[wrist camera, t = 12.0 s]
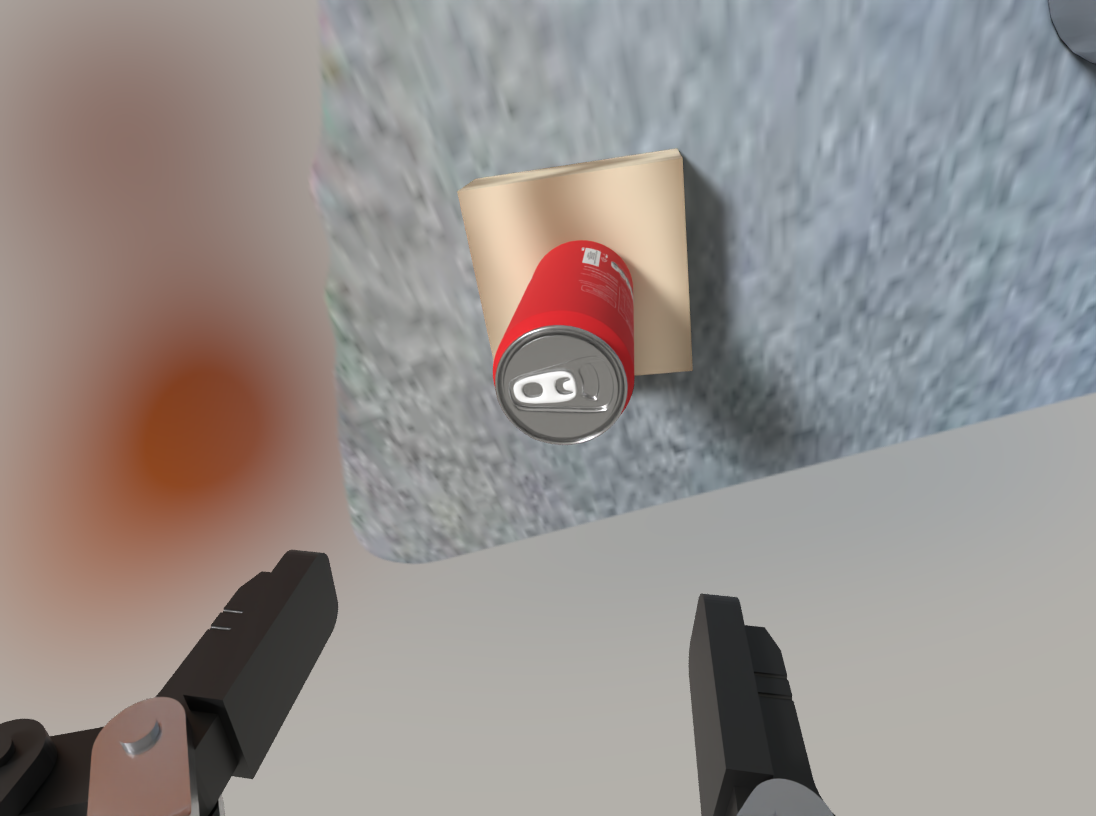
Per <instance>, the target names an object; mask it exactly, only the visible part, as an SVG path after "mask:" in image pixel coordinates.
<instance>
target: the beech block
mask: <svg viewBox="0 0 1096 816" xmlns="http://www.w3.org/2000/svg"><path fill="white" fill-rule="evenodd" d="M457 192H458V197H459V202H460V206H461V211H462V216H463V220H464V225H465V230H466V234H467V239H468V244H469V248H470V253H471V257H472V262H473V267H474V271H475V276H476V281H477V285H478V290H479V295H480V299H481V304H482V309H483V313H484V318H485V322H486V327H487V332H488V336H489V341H490V346H491V350H492V355H493V360H494V358H495V354H496V351H497V349H498V346H499V344H500V342H501V340H502V338H503V336H504V334H505V332H506V330H507V328H508V326H509V324H510V321H511V319H512V317H513V315H514V313H515V311H516V309H517V307H518V305H519V303H520V301H521V299H522V296H523V294H524V292H525V290H526V288H527V286H528V284H529V282H530V280H531V278H532V276H533V274H534V272H535V269H536V268H537V266H538V264H539V262H540V261H541V260H542V258H543V257H544V256H545V255H546V254H547V253H548V252H550V251H551V250H552V249H554V248H555V247H557V246H559V245H561V244H564V243H567V242H570V241H576V240H587V241H593V242H597V243H600V244H603V245H605V246H607V247H609V248H610V249H612V250H613V251H614V252H616V253H617V254H618V255H619V256H620V257H621V258H622V260H623V261H624V262H625V264H626V265H627V267H628V269H629V271H630V274H631V277H632V281H633V298H634V376H637V375H648V374H660V373H672V372H683V371H693V367H692V346H691V325H690V304H689V284H688V263H687V242H686V221H685V200H684V179H683V158H682V156H681V155H680V153H679V151H678V149H670V150H664V151H657V152H650V153H644V154H637V155H631V156H624V157H617V158H611V159H604V160H598V161H591V162H584V163H578V164H571V165H565V166H558V167H551V168H545V169H538V170H532V171H525V172H518V173H512V174H505V175H499V176H492V177H485V178H479V179H475V180H473V181H472V182H470V183H469V184H467V185H466V186H465V187H463V188H462V189H460V190H459V191H457Z"/></svg>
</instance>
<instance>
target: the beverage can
mask: <svg viewBox="0 0 1096 816" xmlns="http://www.w3.org/2000/svg"><path fill="white" fill-rule="evenodd" d="M493 379H494V385H495V390H496V395H497V399H498V402H499V404H500V406H501V408H502V410H503V412H504V413H505V415H506V416H507V418H508V419H509V420H510V421H511V422H512V423H513V424H514V425H515V426H516V427H517V428H518V429H519V430H521V431H522V432H523V433H525V434H526V435H528V436H530V437H531V438H533V439H535V440H538V441H542V442H546V443H550V444H557V445H572V444H578V443H583V442H586V441H589V440H592V439H594V438H596V437H598V436H599V435H601V434H603V433H604V432H605V431H607V430H608V429H609V428H610V427H611V426H612V425H613V424H614V423H615V422H616V420H617V419H618V418H619V416H620V415H621V414H622V412H623V411H624V409H625V408H626V406H627V404H628V403H629V400H630V398H631V395H632V392H633V387H634V298H633V281H632V277H631V274H630V271H629V269H628V267H627V265H626V264H625V262H624V261H623V260H622V258H621V257H620V256H619V255H618V254H617V253H616V252H614V251H613V250H612V249H610V248H609V247H607V246H605V245H603V244H600V243H597V242H593V241H587V240H576V241H570V242H567V243H564V244H561V245H559V246H557V247H555V248H554V249H552V250H551V251H550V252H548V253H547V254H546V255H545V256H544V257H543V258H542V260H541V261H540V262H539V264H538V266H537V268H536V269H535V272H534V274H533V276H532V278H531V280H530V282H529V284H528V286H527V288H526V290H525V292H524V294H523V296H522V299H521V301H520V303H519V305H518V307H517V309H516V311H515V313H514V315H513V317H512V319H511V321H510V324H509V326H508V328H507V330H506V332H505V334H504V336H503V338H502V340H501V342H500V344H499V346H498V349H497V351H496V354H495V358H494V364H493Z"/></svg>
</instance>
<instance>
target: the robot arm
mask: <svg viewBox="0 0 1096 816" xmlns="http://www.w3.org/2000/svg"><path fill="white" fill-rule="evenodd" d="M1048 2H1049V8H1050V14H1051V19H1052V21H1053V23H1054V25H1055V28H1056V30H1057V32H1058V34H1059V36H1060V38H1061V39H1062V40H1063V41H1064V42H1065V43H1066V45H1067V46H1068V47H1069V48H1070V49H1071V50H1072V51H1073V52H1074V53H1076V54H1077V55H1079V56H1081V57H1082V58H1084V59H1086V60H1087V61H1089V62H1091V63H1095V64H1096V0H1048ZM337 614H338V601H337V596H336V591H335V586H334V582H333V577H332V572H331V567H330V563H329V559H328V556H327V555H326V554H325V553H317V552H308V551H298V550H289V551H287V552H286V553H285V554H284V556H283V557H282V558H281V560H280V561H279V562H278V564H277V565H276V567H275V568H274V569H273V571H272V572H271V573H270V572H260V573H259V574H258V575H256V576H255V577H254V578H252V579H251V580H250V581H248V582H247V583H245V584H244V585H243V586H241V587H240V588H239V589H238V591H237V592H236V593H235V594H234V596H233V597H232V598H231V600H230V601H229V602H228V603H227V605H226V606H225V607H224V611H223V613H220V614H219V615H218V617H217V618H216V619H215V621H214V622H213V623H212V624H211V628H210V630H209V629H208V630H207V631H206V632H205V634H204V635H203V636H202V638H201V639H200V640H199V641H198V643H197V644H196V645H195V647H194V648H193V650H192V651H191V652H190V653H189V655H188V656H187V657H186V659H185V660H184V661H183V662H182V664H181V665H180V666H179V668H178V669H177V670H176V672H175V673H174V674H173V676H172V677H171V678H170V679H169V681H168V682H167V683H166V685H165V686H164V687H163V689H162V690H161V691H160V692H159V693H158V695H157V696H156V697H154V698H149V699H146V700H143V701H140V702H137V703H135V704H133V705H131V706H129V707H127V708H126V709H124V710H123V711H121V712H120V713H118V714H117V715H116V716H115V717H114V718H112V719H111V720H110V721H109V722H108V723H107V724H106V725H105V726H104V727H100V728H95V729H90V730H84V731H78V732H73V733H67V734H61V735H56V736H49V735H48V733H47V731H46V730H45V728H44V727H43V725H42V724H40V723H39V722H38V721H35V720H31V719H17V720H12V721H8V722H4V723H2V724H0V816H225V811H224V802H223V797H222V795H221V794H222V792H223V790H224V788H225V787H226V785H227V783H228V781H229V780H230V778H231V776H235V777H242V778H249V779H253V778H254V776H255V774H256V773H257V771H258V769H259V767H260V765H261V763H262V761H263V760H264V758H265V756H266V754H267V752H268V750H269V748H270V747H271V745H272V743H273V741H274V739H275V737H276V735H277V734H278V731H279V730H280V728H281V726H282V724H283V722H284V721H285V719H286V717H287V715H288V713H289V711H290V709H291V708H292V706H293V704H294V702H295V700H296V698H297V696H298V695H299V693H300V691H301V689H302V687H303V685H304V683H305V681H306V680H307V678H308V676H309V674H310V672H311V670H312V669H313V667H314V665H315V663H316V661H317V659H318V657H319V655H320V654H321V652H322V650H323V648H324V646H325V644H326V643H327V641H328V639H329V637H330V635H331V633H332V631H333V629H334V626H335V623H336V619H337ZM689 679H690V691H691V702H692V713H693V725H694V735H695V747H696V757H697V769H698V780H699V791H700V803H701V814H702V816H835V815H834V814H833V813H832V812H831V810H830V809H829V808H828V806H827V805H826V804H825V802H824V801H823V799H822V798H821V796H820V795H819V792H818V790H817V788H816V786H815V783H814V780H813V777H812V773H811V769H810V765H809V761H808V757H807V753H806V749H805V745H804V741H803V737H802V733H801V729H800V725H799V721H798V717H797V713H796V709H795V705H794V702H793V701H792V693H791V690H790V685H789V681H788V680H787V673H786V669H785V665H784V661H783V657H782V653H781V650H780V649H779V647H778V646H777V644H776V643H775V642H774V640H773V639H772V637H771V636H770V634H769V633H768V632H767V630H766V629H765V628H764V627H756V626H747V625H744V620H743V615H742V610H741V606H740V602H739V599H738V598H737V597H728V596H719V595H709V594H700V596H699V600H698V605H697V611H696V615H695V621H694V626H693V631H692V636H691V641H690V649H689Z"/></svg>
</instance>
